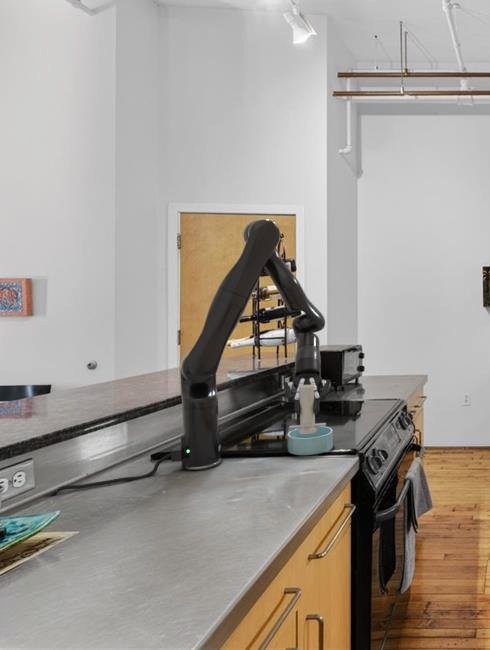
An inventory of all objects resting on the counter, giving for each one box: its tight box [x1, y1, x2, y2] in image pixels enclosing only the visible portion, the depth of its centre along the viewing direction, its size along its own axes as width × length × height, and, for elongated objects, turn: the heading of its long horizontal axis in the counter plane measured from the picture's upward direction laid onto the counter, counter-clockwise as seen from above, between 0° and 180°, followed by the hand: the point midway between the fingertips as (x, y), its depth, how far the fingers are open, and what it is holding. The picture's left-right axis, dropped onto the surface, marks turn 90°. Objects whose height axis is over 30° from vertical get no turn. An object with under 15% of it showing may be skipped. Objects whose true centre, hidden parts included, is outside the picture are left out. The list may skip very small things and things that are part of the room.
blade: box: [288, 385, 327, 434], centre depth 133 cm, size 10×9×13 cm
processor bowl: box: [286, 426, 334, 456], centre depth 146 cm, size 14×14×6 cm
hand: (307, 412), depth 131 cm, fingers closed on blade, 4 cm apart
